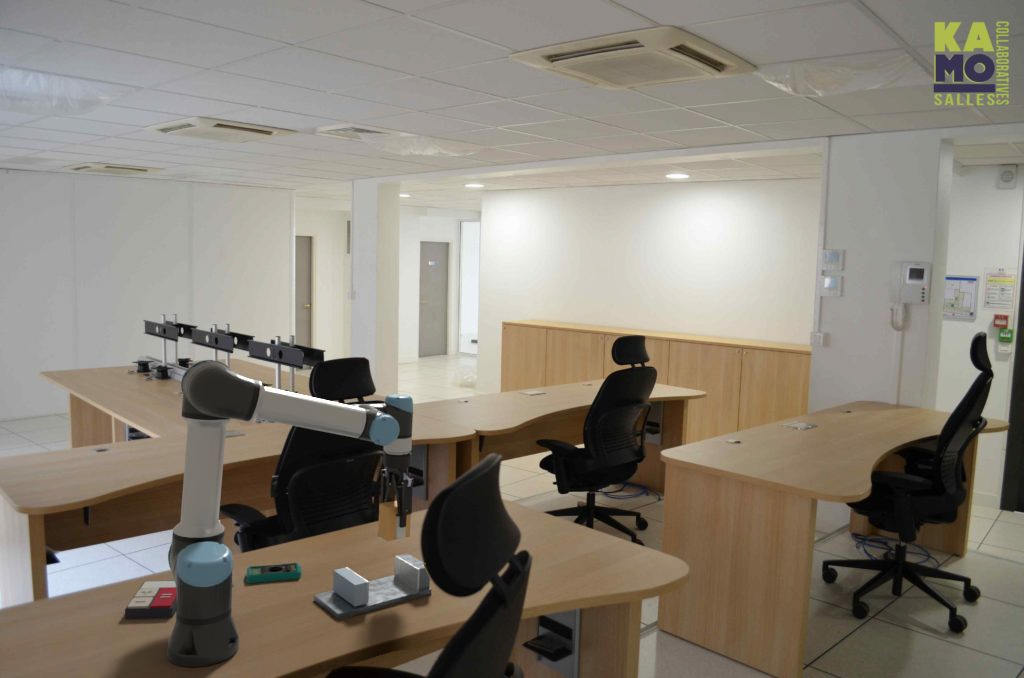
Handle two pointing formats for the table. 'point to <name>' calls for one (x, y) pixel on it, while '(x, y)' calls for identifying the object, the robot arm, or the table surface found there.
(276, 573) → the digital multimeter
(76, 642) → the table surface
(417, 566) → the vise base
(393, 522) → the light orange block
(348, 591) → the block
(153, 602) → the calculator
